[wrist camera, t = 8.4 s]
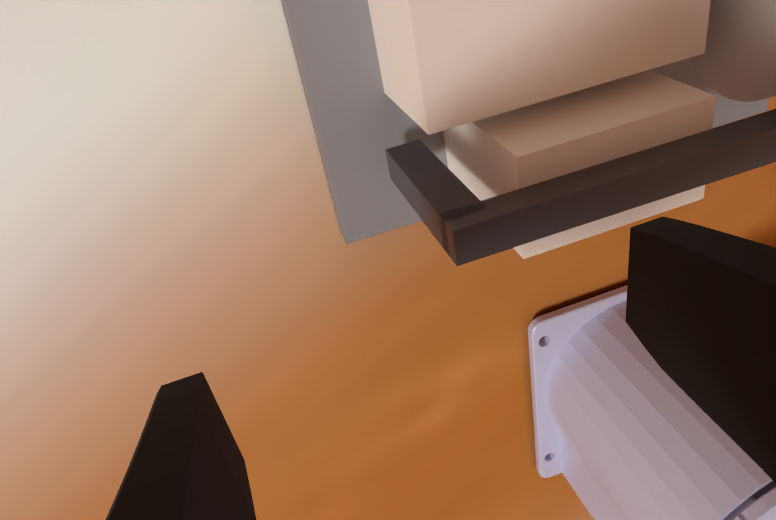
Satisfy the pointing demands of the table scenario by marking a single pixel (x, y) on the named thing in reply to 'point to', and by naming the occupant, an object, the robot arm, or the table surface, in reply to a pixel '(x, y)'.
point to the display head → (499, 95)
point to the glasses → (618, 176)
